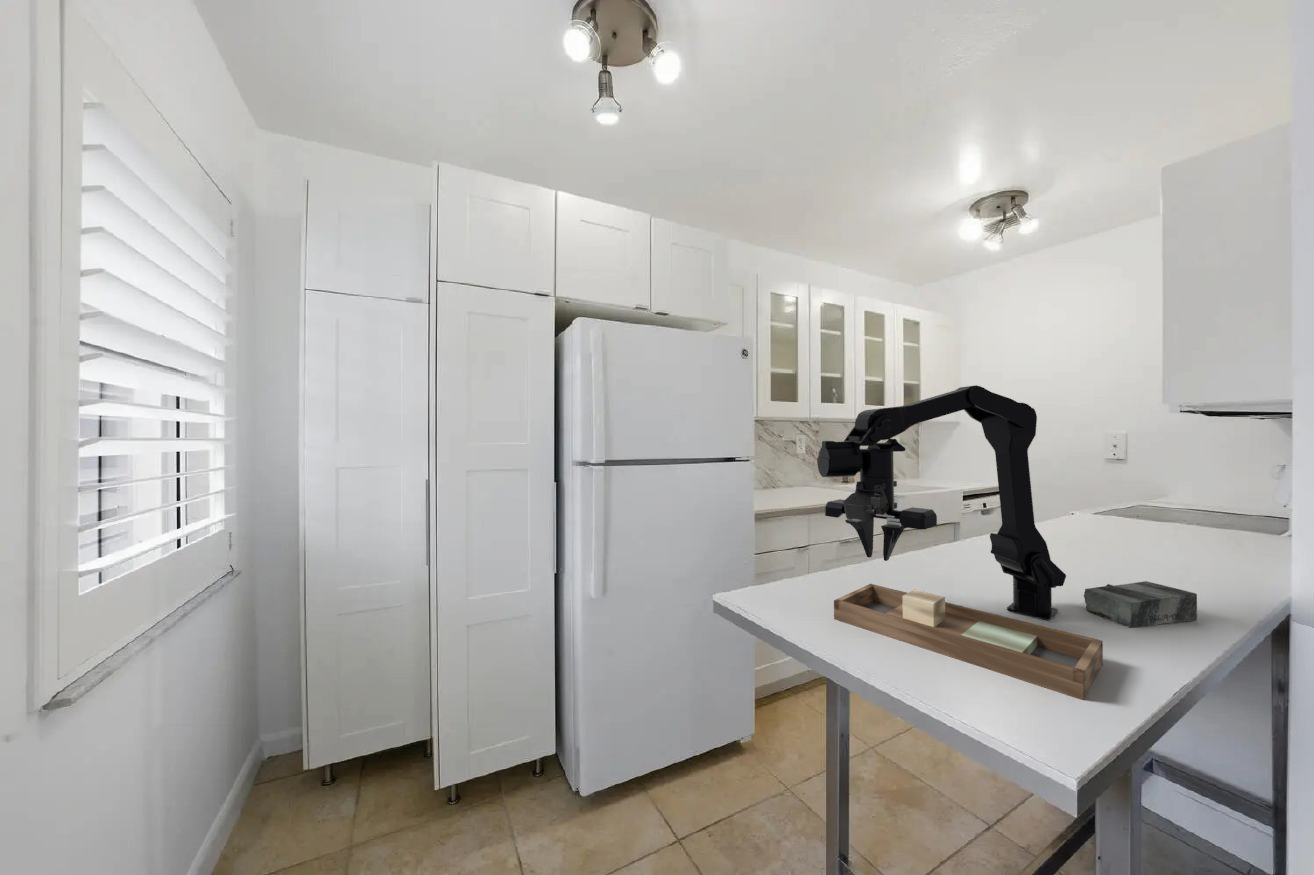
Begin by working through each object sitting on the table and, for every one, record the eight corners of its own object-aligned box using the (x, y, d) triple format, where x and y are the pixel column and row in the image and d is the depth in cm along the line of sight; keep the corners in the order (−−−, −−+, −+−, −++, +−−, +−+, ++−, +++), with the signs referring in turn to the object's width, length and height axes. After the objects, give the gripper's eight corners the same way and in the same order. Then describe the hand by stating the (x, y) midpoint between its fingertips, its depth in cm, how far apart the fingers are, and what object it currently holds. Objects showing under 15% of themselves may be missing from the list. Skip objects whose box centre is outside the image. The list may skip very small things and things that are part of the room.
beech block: (915, 611, 86) (914, 589, 86) (945, 619, 82) (945, 596, 82) (902, 618, 83) (902, 596, 83) (933, 627, 79) (933, 603, 79)
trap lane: (870, 600, 97) (870, 583, 97) (1102, 664, 70) (1102, 640, 70) (834, 618, 88) (833, 600, 88) (1083, 699, 61) (1083, 673, 61)
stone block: (1077, 610, 90) (1077, 583, 90) (1140, 605, 92) (1139, 578, 92) (1130, 629, 81) (1130, 599, 81) (1198, 622, 84) (1198, 593, 84)
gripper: (808, 476, 90) (809, 557, 91) (909, 483, 76) (911, 579, 76) (839, 471, 97) (840, 547, 98) (937, 477, 83) (938, 566, 83)
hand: (877, 558), depth 88 cm, fingers open, 3 cm apart
